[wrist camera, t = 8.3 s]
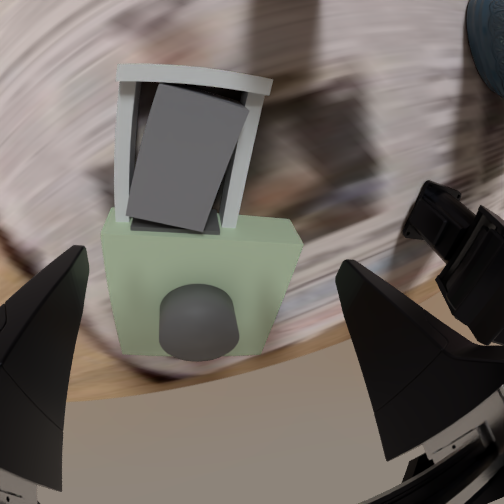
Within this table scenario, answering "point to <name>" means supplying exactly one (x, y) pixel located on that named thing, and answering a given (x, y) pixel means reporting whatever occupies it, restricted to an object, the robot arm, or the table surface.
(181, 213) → the gray rectangular prism
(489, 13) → the canister
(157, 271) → the green block with frame
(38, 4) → the table surface
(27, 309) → the robot arm
